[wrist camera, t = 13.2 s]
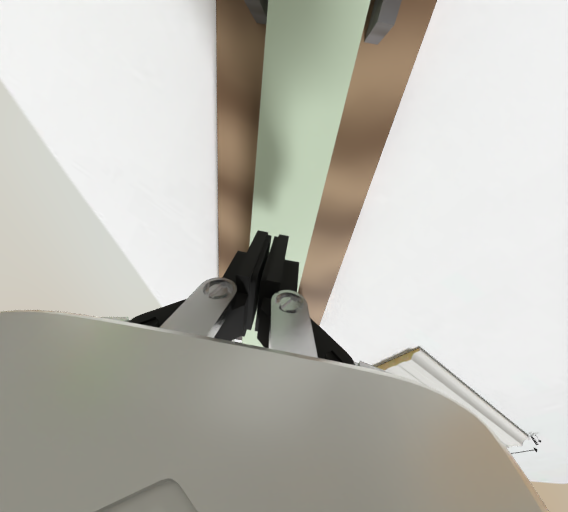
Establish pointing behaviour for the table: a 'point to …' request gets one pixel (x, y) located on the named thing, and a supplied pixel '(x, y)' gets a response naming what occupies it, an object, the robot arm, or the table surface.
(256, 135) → the endcap board
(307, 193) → the slat
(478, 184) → the table surface
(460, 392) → the baseboard molding
